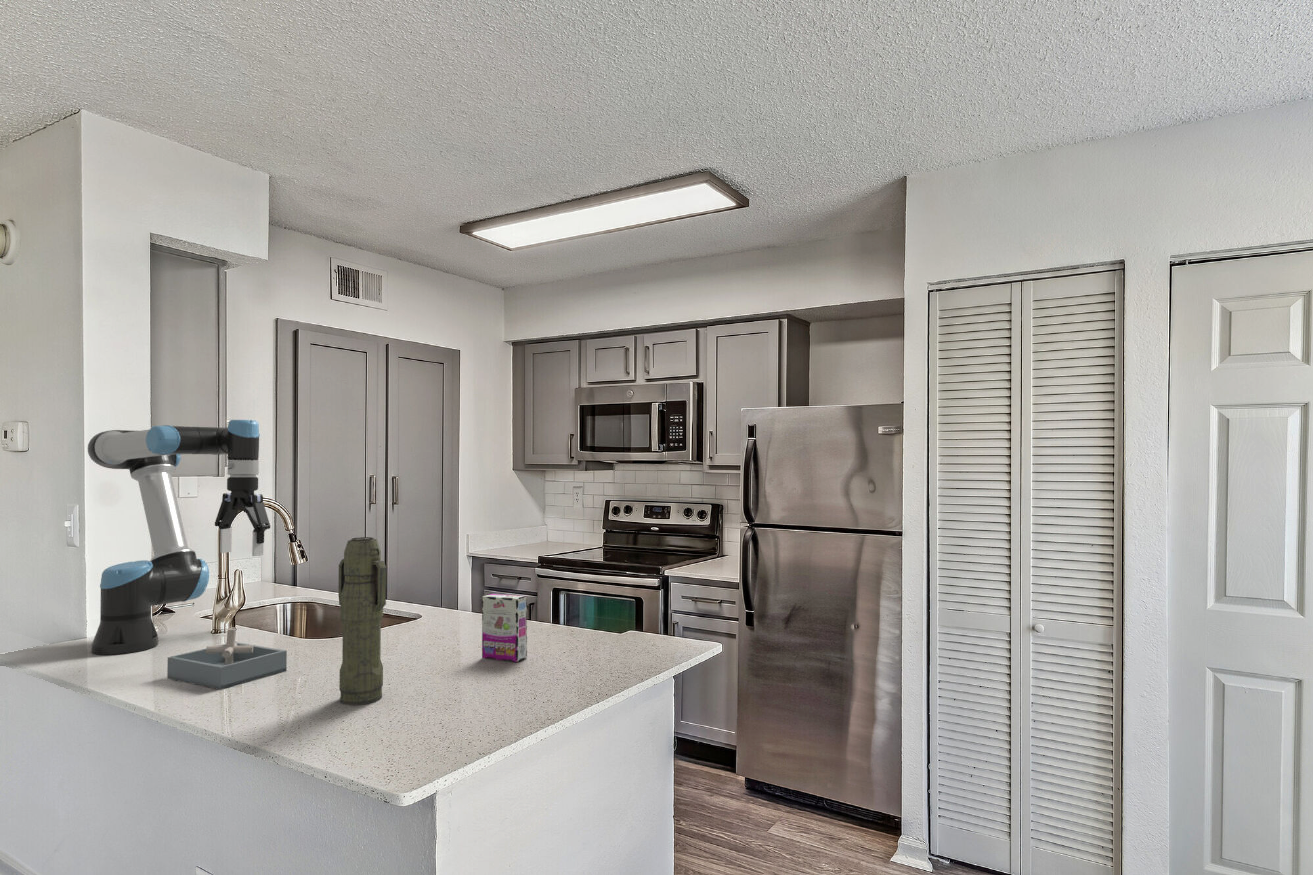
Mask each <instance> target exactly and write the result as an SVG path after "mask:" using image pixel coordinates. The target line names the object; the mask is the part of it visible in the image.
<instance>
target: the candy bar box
mask: <svg viewBox="0 0 1313 875" xmlns="http://www.w3.org/2000/svg"><path fill="white" fill-rule="evenodd" d="M527 606H528V596H527V595H516V594H503V593H502V594H501V593H489V594H487V595H482V597H481V610H482V613H481V614H482V615H481V616H482V617H481V619H482V620H481V625H482V626H481V627H482V630H481V658H482V659H483V658H485V660H492V661H493V660H494V661H502V660H503V662H513V663H514V662H515V663H518V662H521V661H523V660H526V659H527V657H528V647H527V644H528V639H527V638H528V636H527V635H528V630H527V629H528V628H527V627H528V626H527V623H528V621H527V620H528V613H527V610H528V607H527ZM525 658H526V659H525Z"/></svg>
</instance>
